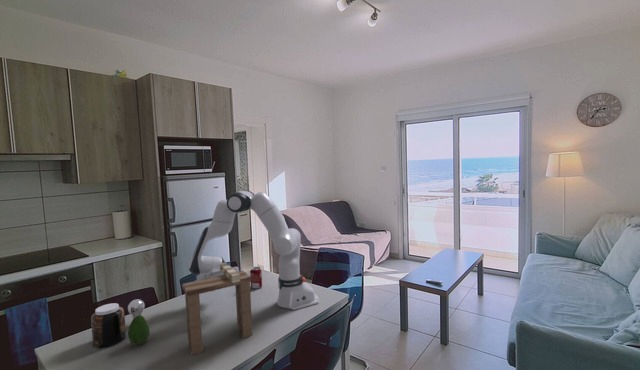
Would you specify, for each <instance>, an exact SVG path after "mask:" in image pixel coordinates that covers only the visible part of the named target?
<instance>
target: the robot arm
mask: <svg viewBox="0 0 640 370" xmlns="http://www.w3.org/2000/svg"><path fill="white" fill-rule="evenodd" d="M248 210H252V211H253V212H254V213H255V214H256V216H257V217H258V219H259V220H260V222H261V223H262V224H263V226H264V227H265V229H266V231H267V232H268V235H269V237H270V239H271V241H272V244H273V249H274V251H275V253H276V254H277V255H279V259H278V278H277V280H278V282H277V283H278V284H277V286H278V297H277V302H276V305H277V306H278V307H280V308H283V309H289V310H293V311H294V310H300V309H302V308H305V307H310V306H314V305H317V304H319V303H320V299H319V296H318V295H317V294H316V293H315V290H314V289H313V286H311V285H309V284H308V283H306V281H307V280H306V278H305V277H304V276H303V275H302V274H301V273H300V271H301V270H300V258H301V245H302V244H301V243H302V242H301V240H302V239H301V238H302V236H301V232H300V231H299V230H298V229H297V228H293V227H292V228H289V227H288V224H287V222H286V220H285V219H286V218H285V217H284V215H283V213H282V212H281V211H280V209H279V208H278V206H277V205H276V204H275V202H274V201H273V200H272V198H271V197H270V196H268V194H267V193H265V192H263V191H261V192H256V193H255V194H254V192H252V191H250V190H239V191H235V192H232V193H231V194H230V195H229V196H228V197H227V199H221V200H219V201H218V202H217V204H216V206H215V210H214V211H213V216H212V219H211V220H212V221H211V222H210V224H209V225H208V226H206V227H204V229H203V230H202V232H201V235H200V236H199V240H198V242H197V245H196V247H195V250H194V251H193V254H192V257H191V259H190V260H189V263H188V271H189V272H190V273H191V274H192V275H194V276H196V279H195V281H198V280H203V279H207V278H212V277H217V276H221V275H224V274H223V273H222V272H221V271H220V265H219V264H220V263H225V262H226V261H225V259H224V258H223V256H209V255H203V254H204V251H205V249H206V246H207V243H209V242H210V241H212V240H215V239H217V238H222V237H225V236H226V235H228V234H230V232H231V231H232V229H233V226H234V220H235V217H236V214H237V213H242V212H246V211H248ZM232 268H233V269H234V270H235V271H236V272H240V270H239V267H238V266H234V267H233V266H232ZM214 291H215V292H216V290H214ZM214 291H213V292H214ZM209 292H212V291H209Z"/></svg>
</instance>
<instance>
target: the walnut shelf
mask: <svg viewBox="0 0 640 370" xmlns="http://www.w3.org/2000/svg"><path fill="white" fill-rule="evenodd" d="M237 273H239V274H240V281H239V282H235V283H232V282H231V281H230V280H229V279H228V278H227V277H226V276H225V275H221V276H217V277H212V278H207V279H203V280H198V281H196V280H193V281H189V282H184V283H182V290H183V292H184V297H185V298H184V299H185V313H186V328H187V329H186V330H187V332H186V333H187V343H188V344H187V345H188V346H187V347H188V348H189V351H190V353H191V356H194V355H197V354H200V353H202V352H203V337H202V334H203V333H202V320H201V319H202V317H201V302H200V301H201V300H200V295H201V294H204V293H209V292H210V291H211V292H214V290H215V291H218V290H222V289H225V288H230V287H233V286H235V300H236V301H235V303H236V322H237V323H236V324H237V325H236V326H237V331H238V333H239V334H240V335H241V336H242V338H243V339H246V338H248V337H251V336H253V322H252V321H253V319H252V299H251V298H252V297H251V296H252V295H251V277H250V274H247V272H245V271H244V270H241V271H240V270H239V272H237Z"/></svg>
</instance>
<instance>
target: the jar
mask: <svg viewBox="0 0 640 370" xmlns="http://www.w3.org/2000/svg"><path fill="white" fill-rule="evenodd" d="M94 311H95V312H94V313H93V314H92V315H91V317H90V323H91V325H90V327H91V337H92V346H93V348H95V349H106V348H111V347H114V346H115V345H118V344H120V343H122V342H123V341H124V340H125V339H126V338H127V332H126V329H127V328H126V318H125V317H126V315H125V310H124V308H123V307H121V306H120V305H119V303H115V302H114V303H112V302H111V303H107V304H103V305H101V306H99V307H97V308H95V310H94Z"/></svg>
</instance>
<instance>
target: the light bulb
mask: <svg viewBox="0 0 640 370" xmlns="http://www.w3.org/2000/svg"><path fill="white" fill-rule="evenodd" d="M145 307H146V305H145V302H144V301H143V300H142V299H138V298H137V299H133V300H132V301H130V302H129V303H128V305H127V311H128V313H129V314H130V316H131V318H132V320H133V319H134V318H135V317H136V316H138V315H141V316H142V315H143V312H144V310H145Z"/></svg>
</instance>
